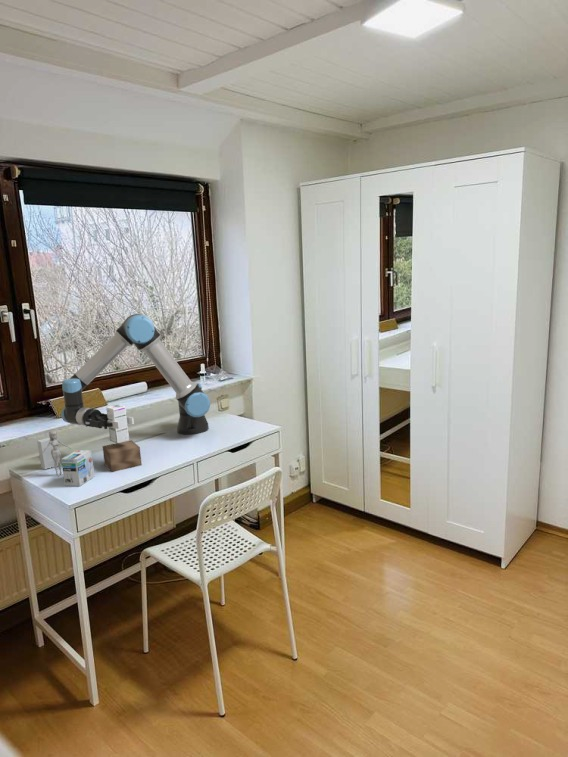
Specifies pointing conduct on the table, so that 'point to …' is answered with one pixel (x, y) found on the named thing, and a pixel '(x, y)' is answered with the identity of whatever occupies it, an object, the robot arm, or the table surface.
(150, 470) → the table surface
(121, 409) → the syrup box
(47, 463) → the skincare box
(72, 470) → the light bulb box
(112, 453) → the walnut block
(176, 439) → the table surface
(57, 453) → the human figurine
